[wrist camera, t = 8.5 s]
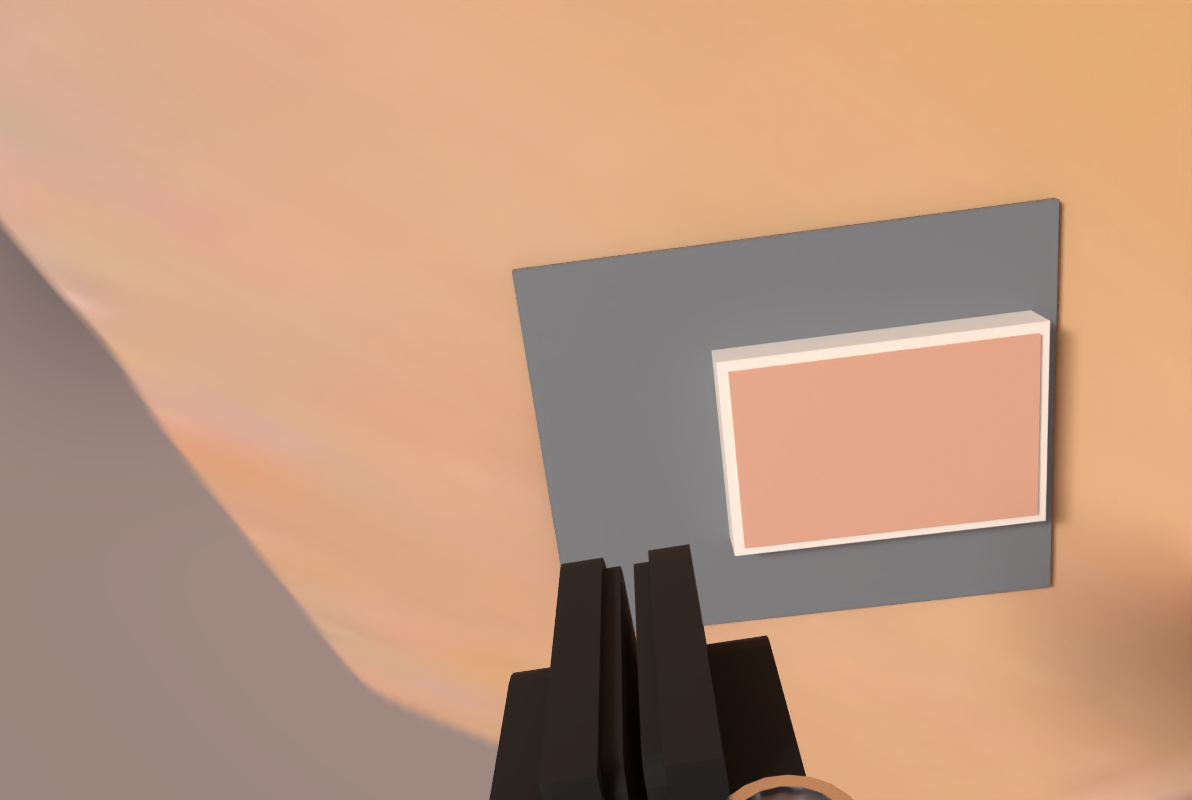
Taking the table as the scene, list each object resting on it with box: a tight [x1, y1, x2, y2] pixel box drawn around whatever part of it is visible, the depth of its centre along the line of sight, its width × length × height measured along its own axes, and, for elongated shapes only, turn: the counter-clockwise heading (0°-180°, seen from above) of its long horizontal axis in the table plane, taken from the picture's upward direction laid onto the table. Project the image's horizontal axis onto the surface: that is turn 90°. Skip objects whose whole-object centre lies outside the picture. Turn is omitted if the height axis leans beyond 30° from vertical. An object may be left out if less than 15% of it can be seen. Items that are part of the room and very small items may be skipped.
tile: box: [712, 310, 1050, 556], centre depth 36 cm, size 2×8×12 cm
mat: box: [512, 198, 1059, 633], centre depth 37 cm, size 20×16×1 cm
